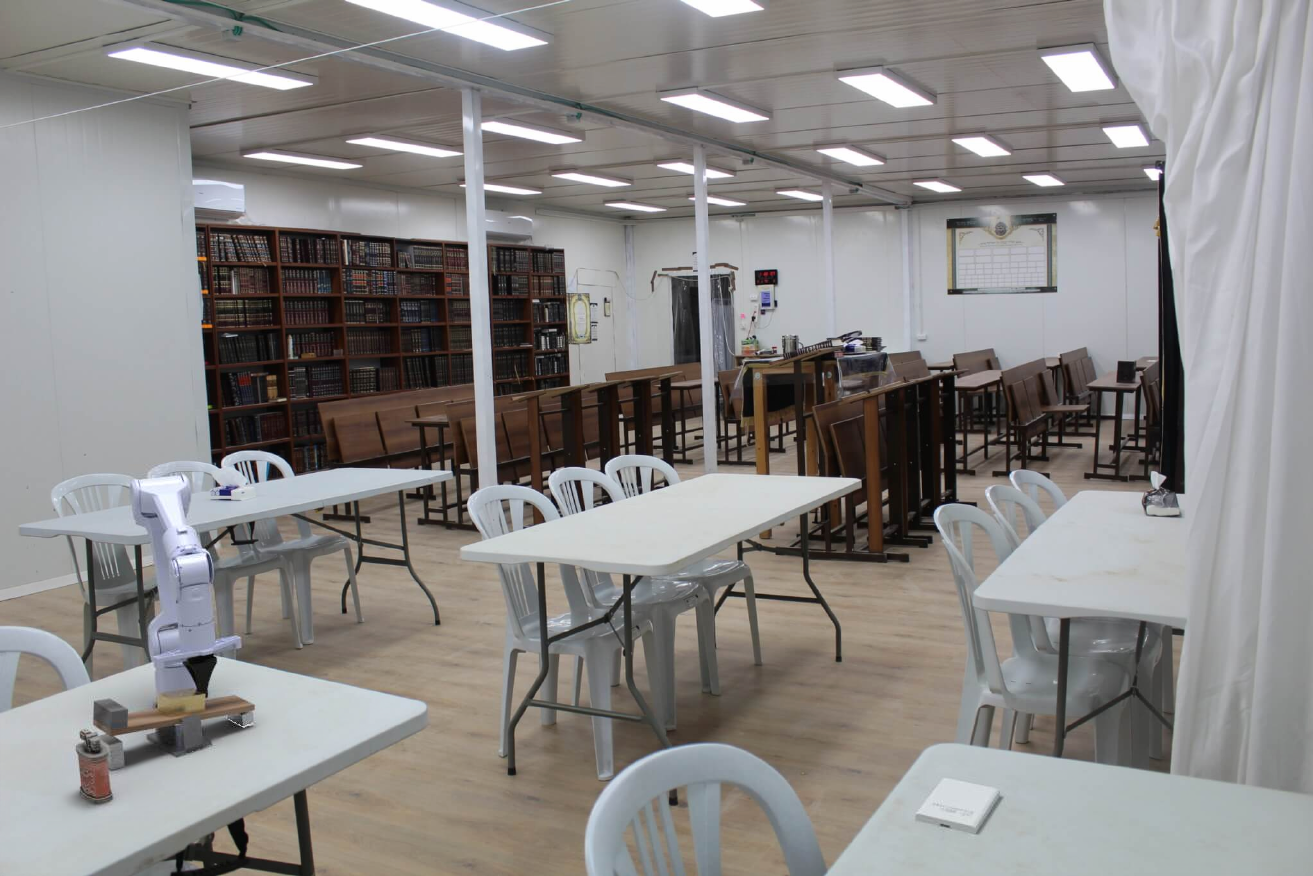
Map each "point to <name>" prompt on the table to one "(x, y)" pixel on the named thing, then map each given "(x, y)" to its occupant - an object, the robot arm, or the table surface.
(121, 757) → the stand
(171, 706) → the block
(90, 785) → the lighter
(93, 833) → the table surface
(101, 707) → the beam
